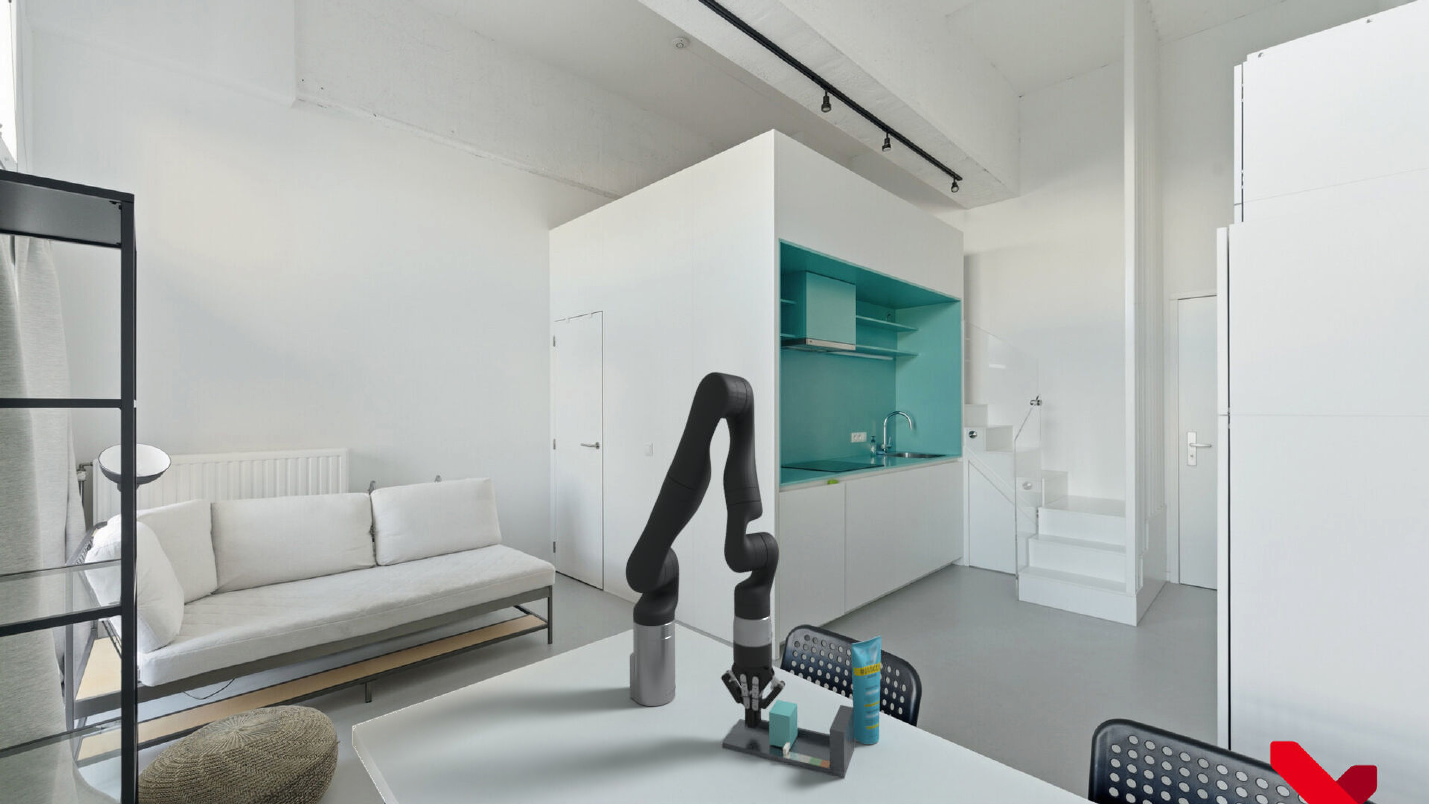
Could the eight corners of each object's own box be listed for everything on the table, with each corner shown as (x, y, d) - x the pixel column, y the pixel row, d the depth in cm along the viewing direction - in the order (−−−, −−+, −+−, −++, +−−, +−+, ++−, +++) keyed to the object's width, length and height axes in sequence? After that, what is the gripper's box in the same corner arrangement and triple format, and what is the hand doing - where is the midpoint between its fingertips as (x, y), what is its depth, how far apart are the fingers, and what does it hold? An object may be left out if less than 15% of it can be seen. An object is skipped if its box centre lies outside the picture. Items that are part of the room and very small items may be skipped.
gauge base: (722, 747, 113) (722, 705, 113) (739, 723, 121) (739, 684, 121) (844, 778, 103) (843, 732, 103) (854, 750, 112) (853, 707, 112)
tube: (862, 750, 112) (861, 647, 112) (843, 738, 116) (843, 639, 116) (889, 737, 116) (888, 638, 116) (870, 726, 120) (869, 630, 120)
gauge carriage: (765, 750, 109) (765, 718, 109) (777, 730, 116) (777, 699, 116) (786, 755, 108) (786, 722, 108) (797, 735, 114) (797, 703, 114)
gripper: (713, 638, 115) (714, 728, 115) (779, 650, 109) (780, 744, 109) (728, 625, 121) (729, 710, 122) (791, 635, 116) (791, 724, 116)
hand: (753, 726), depth 115 cm, fingers closed
